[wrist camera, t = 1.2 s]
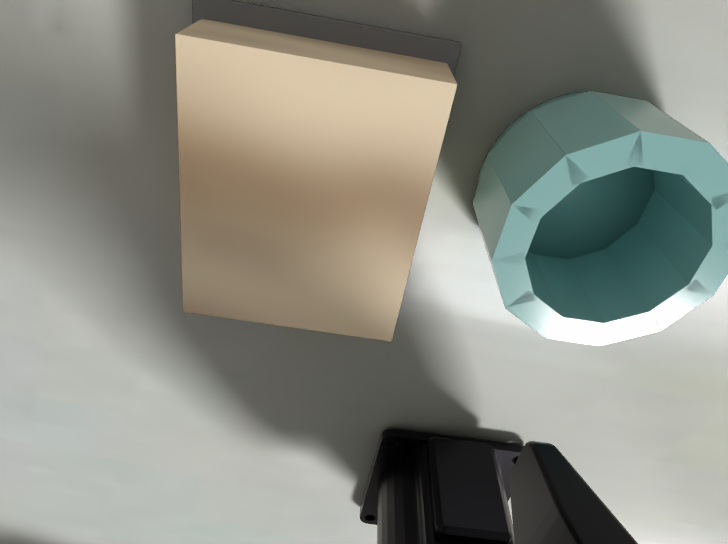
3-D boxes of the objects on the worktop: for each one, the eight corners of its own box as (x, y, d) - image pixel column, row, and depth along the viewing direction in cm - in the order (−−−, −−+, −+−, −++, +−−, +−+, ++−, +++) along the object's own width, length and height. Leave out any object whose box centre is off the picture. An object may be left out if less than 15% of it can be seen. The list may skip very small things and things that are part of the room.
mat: (394, 305, 19) (394, 312, 19) (198, 276, 19) (195, 283, 18) (459, 42, 14) (461, 45, 14) (196, -7, 14) (192, -5, 13)
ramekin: (620, 278, 18) (673, 356, 15) (451, 251, 18) (468, 326, 15) (709, 107, 15) (802, 159, 12) (506, 70, 15) (543, 113, 11)
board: (390, 300, 19) (391, 341, 17) (203, 272, 18) (183, 311, 16) (447, 62, 14) (457, 84, 12) (202, 19, 14) (175, 33, 12)
